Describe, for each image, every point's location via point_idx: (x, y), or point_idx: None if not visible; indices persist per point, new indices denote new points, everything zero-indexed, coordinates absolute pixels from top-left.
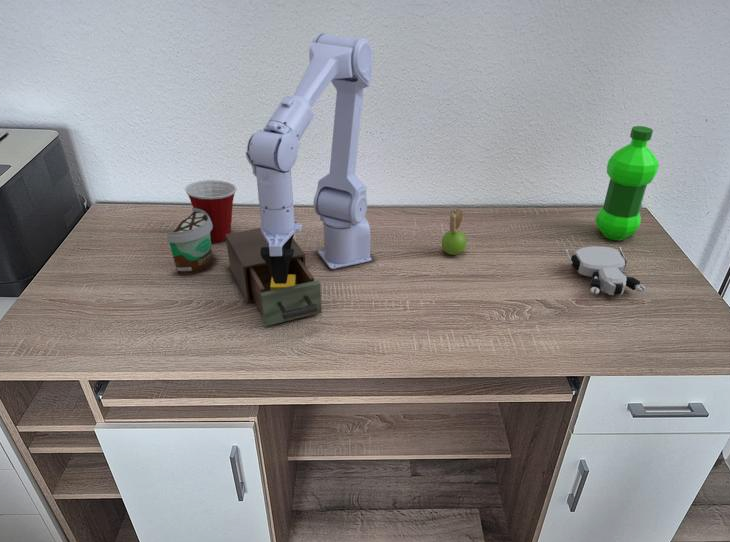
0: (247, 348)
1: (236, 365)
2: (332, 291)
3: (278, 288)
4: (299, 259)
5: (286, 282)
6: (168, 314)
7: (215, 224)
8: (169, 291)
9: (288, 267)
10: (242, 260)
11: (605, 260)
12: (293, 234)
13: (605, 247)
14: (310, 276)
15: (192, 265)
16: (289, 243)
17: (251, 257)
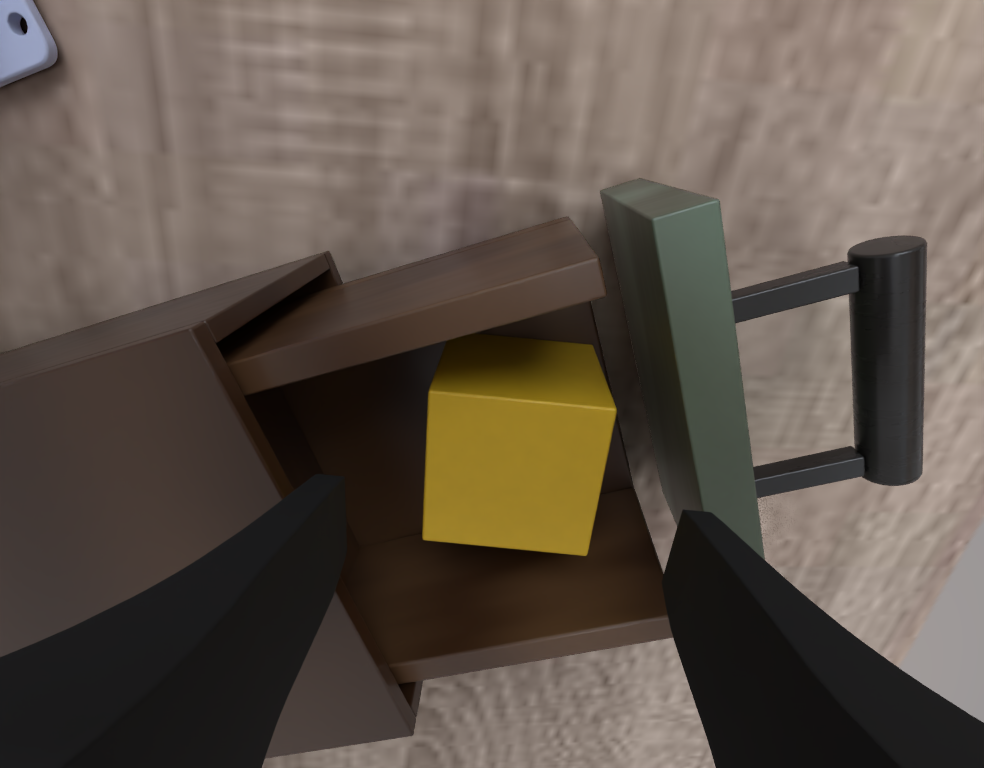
0: (809, 542)
1: (911, 578)
2: (350, 74)
3: (596, 504)
4: (247, 369)
5: (713, 514)
6: (499, 761)
7: None
8: (347, 764)
9: (862, 643)
10: (328, 739)
11: None
12: (159, 685)
13: None
14: (564, 289)
15: None
16: (251, 605)
17: None
